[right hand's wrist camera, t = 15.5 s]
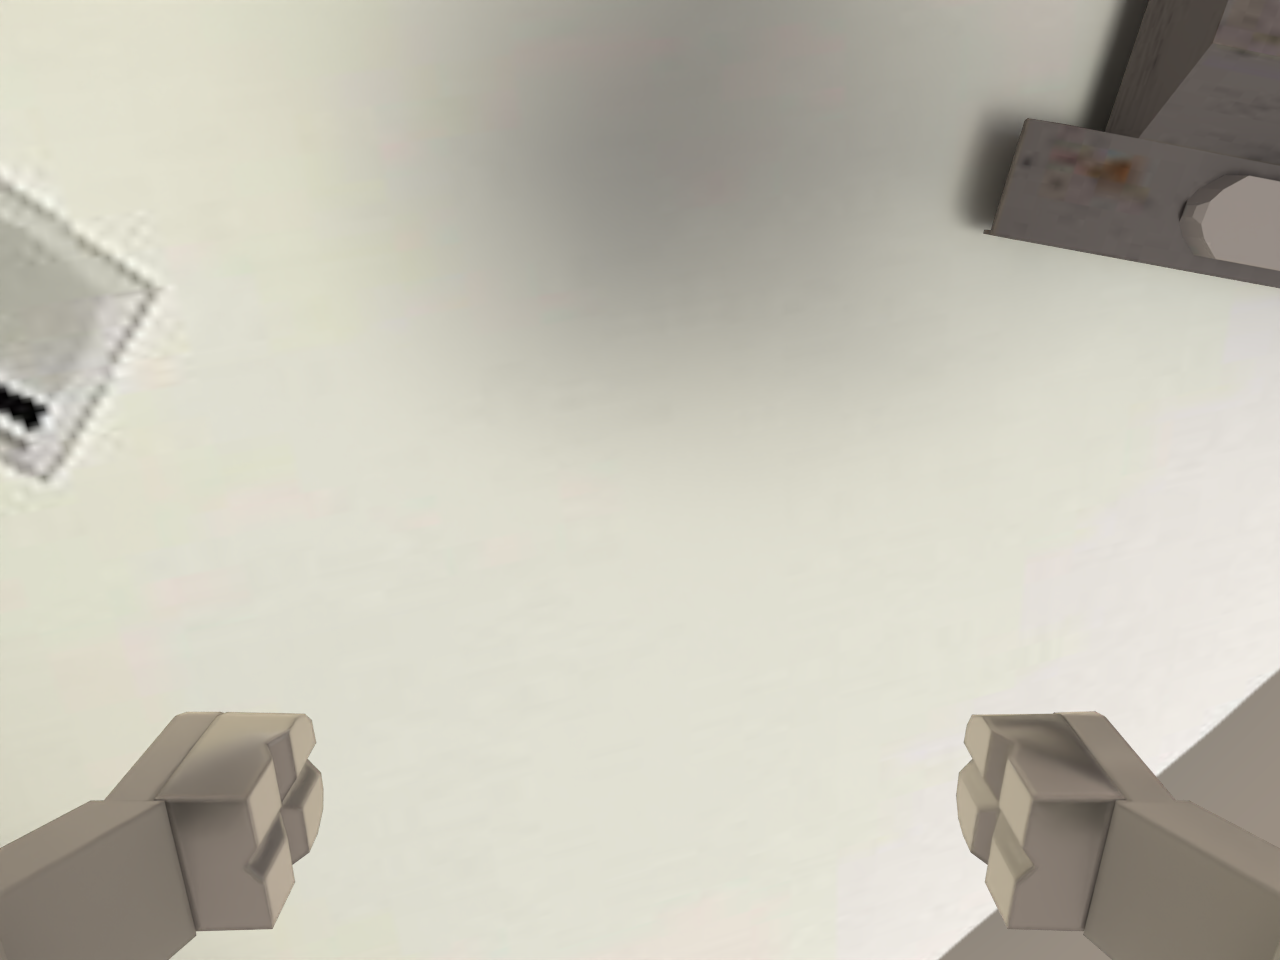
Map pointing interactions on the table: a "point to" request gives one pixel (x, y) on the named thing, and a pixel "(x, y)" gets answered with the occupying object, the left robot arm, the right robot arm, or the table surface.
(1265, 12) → the toy
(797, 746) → the table surface
